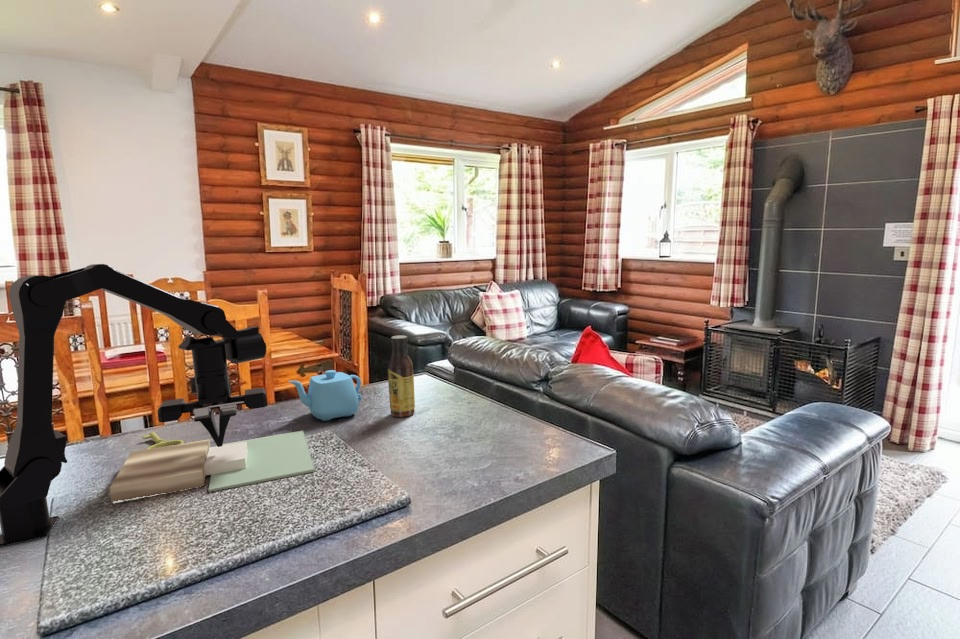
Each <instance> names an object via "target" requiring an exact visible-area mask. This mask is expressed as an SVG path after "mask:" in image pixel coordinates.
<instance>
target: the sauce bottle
mask: <svg viewBox="0 0 960 639" xmlns="http://www.w3.org/2000/svg"><path fill="white" fill-rule="evenodd" d="M408 341H409V340H408V336H407V335H400V334H399V335H393V336H391V337H390V343H391V356H390V359H389V363H388V367H387V379H388V380H387V381H388V396H389V409H390V415H391V416H392V417H395V418H405V417H410V416H412V415H414V414H415V412H416V411H415V407H416V401H415V398H416V397H415V377H414V375H415V374H414V369H413V368H414V366H413V361H412V359H411V358H410V355H408V353H409V352H408Z"/></svg>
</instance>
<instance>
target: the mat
mask: <svg viewBox="0 0 960 639" xmlns="http://www.w3.org/2000/svg"><path fill="white" fill-rule="evenodd" d="M246 441H247V449H248V452H247V463H246V468H245V469H239V470H234V471H228V472H222V473H217V474H211V475H210V480H209V486H208V493H212V492H211V491H214V492H218V491H217V490H219V491H223V490H222V489H224V490H227V489H228V488H229V489H234V488H237V487H243V485H244V486H248V485H253V484H259V483H263V482H268V481H273V480H280V479H283V478H288V477H294V476H298V475H299V476H300V475H305V474H309V473H313V472H315V467H314V462H313V460H312V457H311V453H310V449H309V447H308V443H307V439H306V436H305V433H304V430H299V431H293V432H287V433H280V434H274V435H269V436H264V437H263V436H262V437H256V438H251V439H244V440H239V441H234V442H233V441H232V442H227V443H223V445H227V444H234V443H240V442H246ZM215 446H217V445H216V444H215ZM233 487H234V488H233Z"/></svg>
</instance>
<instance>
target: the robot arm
mask: <svg viewBox="0 0 960 639" xmlns="http://www.w3.org/2000/svg"><path fill="white" fill-rule="evenodd" d="M99 290H101V291H104V292H106V293H109V294H111V295H114V296H116V297H119V298H122V299H124V300H126V301H129V302H131V303H133V304H137V305H140V306H142V307H144V308H147V309H148V310H149V309H150V310H152V311H155V312H157V313H160V314H162V315H163V316H166V317H167V318H169V319H170V320H172V322H174V323H175V324H176V325H178V326H180V327H181V328H183V329H185V330H186V331H189V332H190V333H194V334H198V335H203V336H207V337H199V338H195V337H193V336H190V335H186V337H185V339H183V341H182V342H181V343H180V344H179V345H178V349H179V350H183V351H187V352H188V351H191V357H192V364H193V365H192V366H193V372H194V374H193V375H194V377H190V390H191V393H192V395H195V394H196V398H197V401H189V402H186V401H185V398H175V399H169V400H168V399H167V400H164V401H163V402H162V403H161V404H160V405H159V406H158V409H157V419H158V423H162V424H163V423H167V422H175V421H178V420H179V419H180V418H181V417H182V416H183V414H187V413H193V414H194V417H193V421H194V422H195V423H196V422H197V423H198V422H200V423H201V424H202V426H203V427H204V428H205V429H206V430H207V432H208V433H209V435H210V437H211V438H212V440H213V442H214V444H215V446H216V445H217V447H221V446H222V445H223V444H224V441H225V440H224V439H225V435H226V432H227V431H226V430H227V428H228V424H229V422H230V420H231V417H235V416H237V411H238V407H237V406H243V405H245V407H247V408H248V409H249V410H255V409H260V408H261V409H262V408H265V407H268V400H267V392H266V391H267V390H266V389H265V388H264V387H257V388H256V387H255V388H249V389H244V394H241V395H232V388H231V381H230V380H229V373H228V372H229V371H228V364H227V361H230V362H231V363H232V364H234V365H237V364H242V363H246V362H252V361H256V360H262V359H264V358H265V356H266V353H267V343H266V342H265V340H264V336H263V335H262V334H261V333H260V328H259V327H258V326H248V327H245V328H242V329H236V328H235V327H234V326H233V325H232V324H231V323H230V322H229V321H228V320H227V317H226V313H225V311H224V309H223V308H221V307H219V306H218V305H215V304H210V303H206V302H203V301H197V300H193V299H188V298H184V297H180V296H177V295H175V294H174V293H173V294H172V293H171V292H168V291H166V290H163V289H161V288H159V287H157V286H154V285H152V284H150V283H147V282H144V281H142V280H140V279H139V278H138V279H137V278H135V277H133V276H131V275H128V274H126V273H124V272H121V271H118V270H116V269H115V268H113V267H112V266H111V265H108V264H104V263H97V264H96V263H94V264H93V263H92V264H89V265H86V266H85V267H82V268H78V269H74V270H69V271H66V272H61V273H57V274H53V275H50V276H49V275H43V274H37V275H36V274H32V275H25V276H21V277H19V278H18V279H16V280H15V281H13V282H12V283H11V285H10V286H9V290H8V297H9V300H10V306H11V307H10V308H11V312H12V315H13V318H14V321H15V325H16V327H17V331H18V334H19V336H18V338H19V340H18V370H17V372H18V373H17V374H18V376H17V405H16V406H17V407H16V408H17V411H16V412H17V413H16V424H15V427H14V430H13V432H12V434H11V437H10V439H9V442H8V446H7V450H6V452H5V453H6V454H5V458H4V466H3V467H1V469H0V531H1V534H0V547H4V546H5V547H6V546H10V545H14V544H20V543H24V542H29V541H34V540H38V539H44V538H46V537H48V535H49V534H50V533H51V531H52V530H53V528H54V527H53V525H54V524H55V522H56V521H57V519H58V518H59V519H60V517H59V515H54V516H50V511H49V506H48V499H47V496H48V494H49V491H50V487H51V484H52V482H53V480H54V479H55V478H57V477H58V476H59V475H60V473H61V471H62V467H63V463H64V464H66V463H68V460H67V458H66V453H65V452H66V446H67V444H68V443H67V442H68V437H67V436H66V435H65V434H63V433H62V432H61V431H59V430H58V429H55V430H54V427H53V424H52V423H53V422H52V420H53V390H54V389H53V387H54V385H53V384H54V360H55V358H54V356H55V354H54V353H55V335H56V331H57V330H58V327H59V325H60V323H61V320H62V318H63V315H64V311H65V306H66V301H71V300H73V299H76V298H79V297H82V296H85V295H87V294H91V293H93V292H95V291H99ZM211 336H212V337H211ZM213 336H214V337H217V338H218V337H219V338H222V339H217V340H215V339H214V338H213ZM231 395H232V396H231ZM214 409H215V410H216V409H220V411H219V418H218V419H219V426H217V424H216V420H215V413H214ZM218 427H219V428H218ZM218 429H219V430H218ZM57 522H58V521H57ZM55 525H56V524H55ZM55 525H54V526H55ZM52 527H53V528H52ZM51 529H52V530H51ZM50 530H51V531H50Z"/></svg>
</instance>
